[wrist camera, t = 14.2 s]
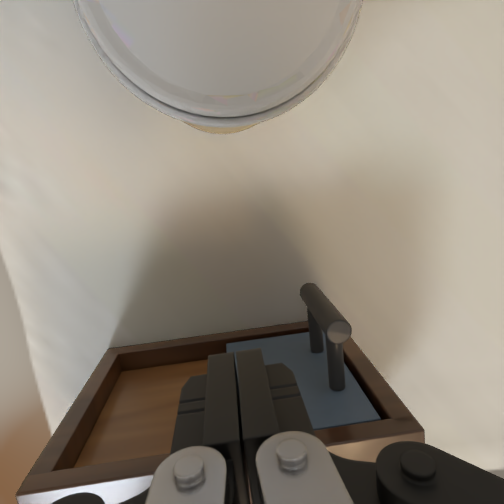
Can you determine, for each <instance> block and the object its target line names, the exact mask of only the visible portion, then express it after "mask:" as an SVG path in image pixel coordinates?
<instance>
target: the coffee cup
mask: <svg viewBox="0 0 504 504" xmlns="http://www.w3.org/2000/svg"><path fill="white" fill-rule="evenodd" d="M362 1H363V0H73V3H74V6H75V9H76V12H77V14H78V17H79V20H80V22H81V25H82V27H83V29H84V31H85V33H86V35H87V37H88V39H89V41H90V43H91V44H92V46H93V48H94V49H95V51H96V52H97V54H98V56H99V57H100V59H101V60H102V61H103V63H104V64H105V65H106V67H107V68H108V69H109V70H110V72H111V73H112V74H113V75H114V76H115V77H116V78H117V79H118V80H119V81H120V83H121V84H123V85H124V86H125V87H126V88H127V89H128V90H129V91H130V92H131V93H133V94H134V95H135V96H137V97H138V98H139V99H141V100H142V101H143V102H145V103H146V104H148V105H149V106H151V107H153V108H155V109H156V110H158V111H160V112H162V113H164V114H166V115H169V116H171V117H173V118H175V119H179V120H181V121H183V122H184V123H186V124H188V125H190V126H192V127H194V128H196V129H199V130H202V131H205V132H210V133H217V134H227V133H235V132H239V131H242V130H245V129H248V128H250V127H252V126H254V125H256V124H258V123H260V122H264V121H266V120H269V119H272V118H274V117H277V116H279V115H281V114H283V113H285V112H287V111H289V110H290V109H292V108H294V107H295V106H297V105H298V104H299V103H301V102H302V101H304V100H305V99H306V98H307V97H309V96H310V95H311V94H312V93H313V92H314V91H315V90H316V89H317V88H318V87H319V86H320V85H321V84H322V83H323V82H324V81H325V80H326V79H327V77H328V76H329V75H330V74H331V72H332V71H333V70H334V68H335V67H336V65H337V64H338V62H339V60H340V59H341V57H342V56H343V54H344V52H345V50H346V48H347V46H348V44H349V42H350V40H351V38H352V35H353V32H354V30H355V27H356V24H357V21H358V18H359V14H360V10H361V7H362Z"/></svg>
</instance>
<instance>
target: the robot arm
mask: <svg viewBox="0 0 504 504" xmlns="http://www.w3.org/2000/svg"><path fill="white" fill-rule="evenodd" d="M236 361H237V371H236V364H235V357H234V352H229V353H222V354H215V355H209V356H208V364H207V374H203V375H196V376H191V377H190V378H189V379H188V381H187V382H186V383H185V385H184V386H183V387H182V388H181V394H180V400H179V405H178V411H177V417H176V423H175V428H174V434H173V440H172V446H171V451H170V456H169V457H167V458H166V459H165V460H164V461H163V462H162V463H161V464H160V465H159V466H158V468H157V469H156V471H155V473H154V476H153V478H152V482H151V485H150V487H149V488H148V489H146V490H145V491H143V492H142V493H140V494H138V495H136V496H134V497H132V498H130V499H128V500H126V501H123V502H121V503H119V504H251V502H250V491H251V498H252V504H504V479H503V478H500V477H498V476H496V475H494V474H492V473H490V472H487V471H485V470H483V469H481V468H479V467H477V466H474V465H472V464H470V463H468V462H466V461H463V460H461V459H459V458H457V457H455V456H453V455H450V454H448V453H446V452H444V451H442V450H440V449H437V448H435V447H433V446H430V445H428V444H424V443H421V442H415V441H400V442H395V443H392V444H389V445H388V446H386V447H384V448H383V449H382V450H381V451H380V452H379V454H378V456H377V458H376V463H375V462H366V461H356V460H350V459H346V458H342V457H339V456H337V455H335V454H333V453H331V452H329V451H328V450H327V448H326V446H325V445H324V444H323V443H322V441H321V440H319V439H318V438H317V437H316V435H315V433H314V430H313V427H312V424H311V421H310V418H309V416H308V413H307V410H306V407H305V404H304V401H303V399H302V396H301V393H300V390H299V387H298V386H297V382H296V379H295V376H294V373H293V371H292V370H290V369H289V368H288V367H287V366H286V365H284V364H283V363H276V364H269V365H265V364H264V360H263V355H262V351H261V348H256V349H249V350H242V351H236ZM237 373H238V378H237ZM248 477H249V480H248ZM249 484H250V491H249ZM51 504H105V502H104V501H103V499H102V498H101V497H100V496H98V495H96V494H94V493H89V492H81V493H75V494H71V495H68V496H65V497H62V498H60V499H58V500H56V501H54V502H53V503H51Z"/></svg>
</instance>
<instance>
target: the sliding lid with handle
mask: <svg viewBox="0 0 504 504" xmlns="http://www.w3.org/2000/svg"><path fill="white" fill-rule="evenodd" d="M300 296H301V298H302V300H303V301H304V303H305V304H306V306H307V314H308V326H309V332H305V333H298V334H291V335H284V336H277V337H269V338H262V339H255V340H248V341H241V342H234V343H227V344H226V351H227V353H229V352H234V357H235V364H236V371H237V361H236V351H242V350H249V349H256V348H261V351H262V355H263V360H264V364H265V365H269V364H276V363H283V364H284V365H286V366H287V367H288V368H289V369H290V370H292V371H293V373H294V376H295V379H296V382H297V386H298V387H299V390H300V393H301V396H302V399H303V401H304V404H305V407H306V410H307V413H308V416H309V418H310V421H311V424H312V427H313V430H320V429H327V428H333V427H339V426H346V425H352V424H359V423H365V422H371V421H378V420H381V418H380V417H379V415H378V414H377V412H376V410H375V409H374V407H373V406H372V404H371V403H370V401H369V400H368V398H367V397H366V395H365V394H364V392H363V391H362V389H361V387H360V386H359V384H358V383H357V381H356V380H355V378H354V377H353V375H352V374H351V372H350V371H349V369H348V368H347V366H346V364H345V363H344V355H343V343H344V342H346V341H347V340H348V339H349V337H350V336H351V326H350V324H349V323H348V322H347V320H346V319H345V318H344V317H343V316H342V315H341V313H340V312H339V311H338V310H337V309H336V308H335V306H334V305H333V304H332V303H331V302H330V301H329V299H328V298H327V297H326V296H325V295H324V294H323V292H322V291H321V290H320V289H319V288H318V287H317V285H315V284H314V283H306V284H304V285H303V286H302V287H301V289H300ZM237 378H238V373H237Z"/></svg>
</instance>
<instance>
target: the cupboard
mask: <svg viewBox="0 0 504 504" xmlns="http://www.w3.org/2000/svg"><path fill="white" fill-rule="evenodd" d="M305 332H309V326H308V321H305V322H298V323H291V324H284V325H277V326H270V327H262V328H255V329H248V330H241V331H234V332H226V333H219V334H212V335H205V336H198V337H191V338H183V339H176V340H169V341H162V342H155V343H147V344H140V345H133V346H126V347H119V348H112V349H108V350H107V351H106V353H105V354H104V356H103V358H102V359H101V361H100V362H99V364H98V365H97V367H96V369H95V370H94V372H93V373H92V375H91V376H90V378H89V379H88V381H87V383H86V384H85V386H84V387H83V389H82V390H81V392H80V394H79V395H78V397H77V398H76V400H75V401H74V403H73V404H72V406H71V408H70V409H69V411H68V412H67V414H66V415H65V417H64V419H63V420H62V422H61V423H60V425H59V426H58V428H57V429H56V431H55V433H54V434H53V436H52V437H51V439H50V441H49V442H48V444H47V445H46V447H45V449H44V450H43V451H42V453H41V455H40V456H39V458H38V459H37V461H36V462H35V464H34V465H33V467H32V469H31V470H30V472H29V473H28V475H27V476H26V478H25V480H24V481H23V483H22V485H21V487H20V488H19V490H18V491H17V493H16V500H17V503H18V504H51V503H53V502H54V501H56V500H58V499H60V498H62V497H65V496H68V495H71V494H75V493H81V492H89V493H94V494H96V495H98V496H100V497H101V498H102V499H103V501H104V502H105V504H119V503H121V502H123V501H126V500H128V499H130V498H132V497H134V496H136V495H138V494H140V493H142V492H143V491H145V490H146V489H148V488H149V487H150V485H151V482H152V478H153V476H154V473H155V471H156V469H157V468H158V466H159V465H160V464H161V463H162V462H163V461H164V460H165V459H166V458H167V457H169V456H170V451H171V446H172V440H173V434H174V428H175V423H176V417H177V411H178V405H179V400H180V394H181V388H182V387H183V386H184V385H185V383H186V382H187V381H188V379H189V378H190V377H191V376H196V375H203V374H207V364H208V356H209V355H215V354H222V353H227V351H226V344H227V343H234V342H241V341H248V340H255V339H262V338H269V337H277V336H284V335H291V334H298V333H305ZM343 355H344V363H345V364H346V366H347V368H348V369H349V371H350V372H351V374H352V375H353V377H354V378H355V380H356V381H357V383H358V384H359V386H360V387H361V389H362V391H363V392H364V394H365V395H366V397H367V398H368V400H369V401H370V403H371V404H372V406H373V407H374V409H375V410H376V412H377V414H378V415H379V417H380V418H381V420H378V421H371V422H365V423H359V424H352V425H346V426H339V427H333V428H327V429H320V430H314V433H315V435H316V437H317V438H318V439H319V440H321V441H322V443H323V444H324V445H325V446H326V448H327V450H328V451H329V452H331V453H333V454H335V455H337V456H339V457H342V458H346V459H350V460H356V461H366V462H375V463H376V458H377V456H378V454H379V452H380V451H381V450H382V449H383V448H384V447H386V446H388V445H389V444H392V443H395V442H400V441H415V442H421V443H424V444H425V434H424V429H423V427H422V426H421V425H420V424H419V422H418V421H417V420H416V419H415V417H414V416H413V415H412V414H411V412H410V411H409V410H408V409H407V407H406V406H405V405H404V403H403V402H402V401H401V400H400V398H399V397H398V396H397V395H396V393H395V392H394V391H393V390H392V388H391V387H390V386H389V385H388V383H387V382H386V381H385V380H384V378H383V377H382V376H381V375H380V373H379V372H378V371H377V369H376V368H375V367H374V366H373V364H372V363H371V362H370V361H369V359H368V358H367V357H366V356H365V354H364V353H363V352H362V351H361V349H360V348H359V347H358V346H357V344H356V343H355V342H354V340H353V339H352V338H351V337H349V339H348V340H347V341H346V342H344V343H343ZM248 480H249V477H248ZM249 491H250V484H249ZM250 502H251V504H252V498H251V491H250Z"/></svg>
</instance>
